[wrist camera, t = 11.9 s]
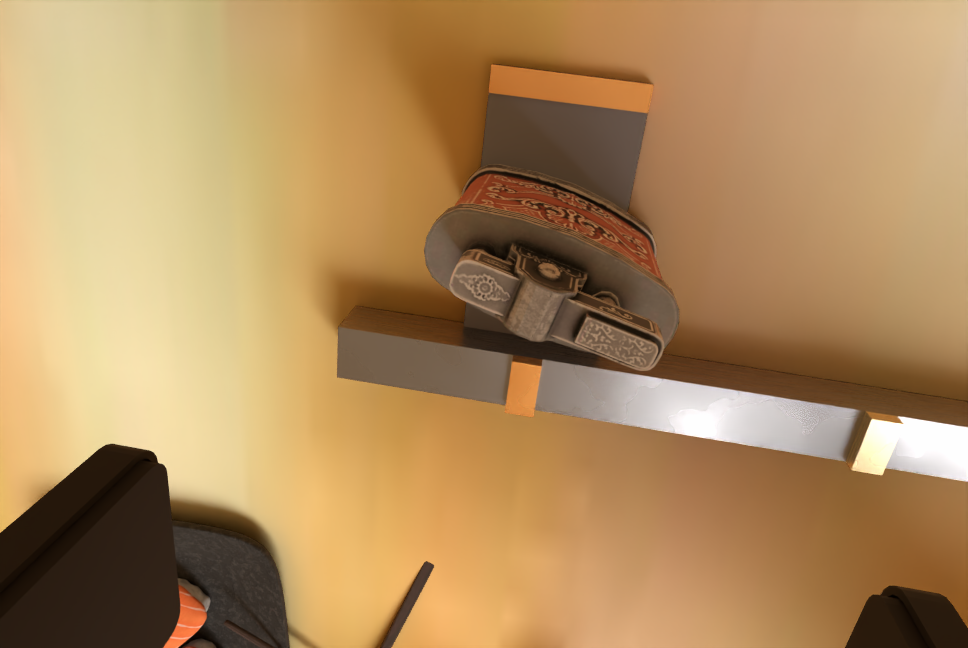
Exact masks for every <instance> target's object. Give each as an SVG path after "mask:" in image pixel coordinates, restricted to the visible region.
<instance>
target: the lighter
mask: <svg viewBox="0 0 968 648" xmlns="http://www.w3.org/2000/svg"><path fill="white" fill-rule="evenodd" d="M424 253H425V261H426V266H427V268H428V270H429V272H430V273H431V275H432V277H433V278H434V279H435V280H436V281H437V282H438V283H439V284H440V285H441V286H443V287H445V288H446V289H448V290H450V291H451V292H452V293H453V294H454V296H456V297H457V298H459V299H461V300H463V301H466V302H468V303H470V304H472V305H474V306H475V307H477V308H478V309H480V310H482V311H483V312H485V313H487V314H489V315H491V316H494V317H496V318H497V319H498V320H499V321H501V322H502V323H503V324H504V326H505V327H506V328H507V329H508V330H509V331H511V332H512V333H514V334H515V335H518V336H520V337H523V338H525V339H528V340H530V341H535V342H543V341H546V340H548V341H553V342H556V343H559V344H562V345H565V346H568V347H571V348H574V349H577V350H581V351H586V352H591V353H595V354H597V355H600V356H602V357H605V358H607V359H610V360H612V361H615V362H617V363H620V364H622V365H625V366H627V367H630V368H632V369H635V370H639V371H648V370H650V369H652V368H653V367H654V366H655V365H656V364H657V362H658V361H659V359H660V358H661V356H662V353H663V351H664V349H665V348H666V346H667V345H668V344H669V342H670V341H671V340H672V339H673V337H674V335H675V333H676V330H677V327H678V324H679V308H678V306H677V303H676V300H675V297H674V295H673V292H672V290H671V288H670V287H669V286H668V285H667V284H666V283H665V282H664V281H663V280H662V277H661V274H660V271H659V268H658V265H657V262H656V243H655V241H654V238H653V235H652V233H651V230H650V229H649V228H648V227H647V226H646V225H645V224H644V223H642V222H641V221H639V220H638V219H636V218H635V217H633V216H632V215H630V214H629V213H627V212H626V211H624V210H623V209H621V208H620V207H618V206H617V205H615V204H614V203H612V202H610V201H608V200H606V199H604V198H602V197H600V196H598V195H596V194H594V193H592V192H590V191H588V190H586V189H584V188H582V187H580V186H578V185H576V184H573V183H570V182H567V181H564V180H561V179H557V178H554V177H551V176H548V175H545V174H542V173H539V172H536V171H531V170H526V169H521V168H516V167H510V166H505V165H500V164H489V165H486V166H484V167H482V168H479V169H478V170H477V171H476V172H475V173H474V174H473V175H472V176H471V177H470V178H469V180H468V181H467V183H466V185H465V187H464V188H463V190H462V195H461V198H460V199H459V201H458V202H457V203H456V205H455V206H454V207H451V208H449V209H448V210H446V211H445V212H444V213H443V214H442V215H441V216H440V217H439V218H438V219H437V220H436V222H435V223H434V224H433V226H432V228H431V230H430V232H429V233H428V235H427V238H426V243H425V249H424Z"/></svg>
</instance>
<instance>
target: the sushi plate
mask: <svg viewBox="0 0 968 648" xmlns="http://www.w3.org/2000/svg"><path fill="white" fill-rule="evenodd" d="M172 526H173V536H174V546H175V556H176V565H177V575H178V585H179V595H180V605H181V606H180V616H179V620H178V623H177V626H176V628H175V630H174V632H173V634H172V635H171V637H170V638H169V640H168V641H167V643H166V644H165V646H164V647H163V648H290V647H289V637H288V628H287V618H286V610H285V602H284V596H283V590H282V585H281V580H280V576H279V573H278V570H277V567H276V564H275V562H274V561H273V559H272V557H271V555H270V553H269V552H268V551H267V550H266V549H265V547H264V546H263V545H261V544H260V543H258V542H257V541H255V540H254V539H252V538H249V537H247V536H245V535H242V534H240V533H236V532H233V531H230V530H226V529H221V528H217V527H212V526H207V525H201V524H195V523H188V522H182V521H175V520H172ZM433 568H434V565H433V564H431V563H429V562H427V561H426V562H425V563H424V564H423V566H422V568H421V570H420V572H419V573H418V575H417V577H416V579H415V581H414V583H413V585H412V587H411V589H410V591H409V592H408V594H407V596H406V598H405V600H404V602H403V604H402V606H401V608H400V610H399V612H398V614H397V615H396V617H395V619H394V621H393V623H392V625H391V627H390V629H389V631H388V633H387V635H386V637H385V639H384V641H383V643H382V645H381V647H380V648H391V647H392V646H393V644H394V642H395V640H396V638H397V636H398V634H399V633H400V631H401V629H402V627H403V625H404V623H405V621H406V619H407V617H408V616H409V614H410V612H411V610H412V608H413V606H414V604H415V602H416V600H417V599H418V597H419V595H420V593H421V591H422V589H423V587H424V585H425V583H426V582H427V580H428V578H429V576H430V574H431V572H432V570H433Z"/></svg>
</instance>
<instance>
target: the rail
mask: <svg viewBox="0 0 968 648" xmlns="http://www.w3.org/2000/svg"><path fill="white" fill-rule="evenodd" d="M337 377H339V378H345V379H351V380H357V381H363V382H369V383H375V384H381V385H387V386H393V387H399V388H405V389H411V390H417V391H423V392H429V393H435V394H441V395H447V396H453V397H460V398H466V399H472V400H478V401H484V402H490V403H496V404H502V405H506V407H505V413H511V414H517V415H523V416H529V417H533V416H534V410H538V411H544V412H550V413H556V414H562V415H568V416H574V417H580V418H586V419H592V420H598V421H604V422H611V423H617V424H623V425H629V426H635V427H641V428H647V429H653V430H659V431H665V432H671V433H677V434H683V435H689V436H695V437H701V438H707V439H713V440H719V441H725V442H731V443H737V444H743V445H749V446H755V447H761V448H768V449H774V450H780V451H786V452H792V453H798V454H804V455H810V456H816V457H822V458H828V459H834V460H840V461H846V463H847V464H848V466H849V468H850V469H851V470H853V471H859V472H865V473H871V474H877V475H882V474H883V472H884V470H885V468H888V469H894V470H900V471H906V472H912V473H919V474H925V475H931V476H937V477H943V478H949V479H955V480H961V481H967V482H968V402H967V401H961V400H954V399H948V398H941V397H935V396H929V395H922V394H916V393H909V392H903V391H897V390H890V389H884V388H878V387H871V386H865V385H858V384H852V383H846V382H839V381H833V380H827V379H820V378H814V377H807V376H801V375H795V374H788V373H782V372H775V371H769V370H763V369H756V368H750V367H744V366H737V365H731V364H724V363H718V362H712V361H705V360H699V359H692V358H686V357H680V356H673V355H667V354H662V356H661V358H660V359H659V361H658V362H657V364H656V365H655V366H654V367H653V368H652V369H650V370H648V371H639V370H635V369H632V368H630V367H627V366H625V365H622V364H620V363H617V362H615V361H612V360H610V359H607V358H605V357H602V356H600V355H597V354H595V353H591V352H586V351H581V350H577V349H574V348H571V347H568V346H565V345H562V344H559V343H556V342H553V341H548V340H546V341H543V342H535V341H530V340H528V339H525V338H523V337H520V336H518V335H515V334H508V333H502V332H496V331H489V330H483V329H477V328H470V327H464V323H463V322H456V321H450V320H444V319H437V318H431V317H424V316H418V315H412V314H405V313H399V312H392V311H386V310H380V309H373V308H367V307H361V306H355V307H354V309H353V310H352V311H351V312H350V313H349V315H348V316H347V317H346V318H345V319H344V321H343V322H342V323H341V324H340V325H339V327H338V359H337Z"/></svg>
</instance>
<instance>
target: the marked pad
mask: <svg viewBox="0 0 968 648" xmlns="http://www.w3.org/2000/svg"><path fill="white" fill-rule="evenodd" d="M653 86H654V85H653V84H649V83H641V82H633V81H625V80H617V79H609V78H601V77H593V76H585V75H577V74H569V73H562V72H554V71H546V70H538V69H530V68H522V67H514V66H506V65H498V64H491V74H490V83H489V92H488V93H489V95H488V104H487V114H486V123H485V132H484V142H483V151H482V160H481V168H482V167H484V166H486V165H489V164H500V165H505V166H510V167H516V168H521V169H526V170H531V171H536V172H539V173H542V174H545V175H548V176H551V177H554V178H557V179H561V180H564V181H567V182H570V183H573V184H576V185H578V186H580V187H582V188H584V189H586V190H588V191H590V192H592V193H594V194H596V195H598V196H600V197H602V198H604V199H606V200H608V201H610V202H612V203H614V204H615V205H617V206H618V207H620V208H621V209H623V210H624V211H626V212H627V213H628V208H629V203H630V198H631V193H632V188H633V184H634V179H635V174H636V169H637V164H638V159H639V154H640V149H641V144H642V139H643V134H644V129H645V124H646V119H647V115H648V111H649V106H650V101H651V96H652V91H653ZM464 327H470V328H477V329H483V330H489V331H496V332H502V333H508V334H514V333H512V332H511V331H509V330H508V329H507V328H506V327H505V326H504V324H503V323H502V322H501V321H499V320H498V319H497V318H496V317H494V316H491V315H489V314H487V313H485V312H483V311H482V310H480V309H478V308H477V307H475V306H474V305H472V304H470V303H468V302H466V309H465V318H464Z"/></svg>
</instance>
